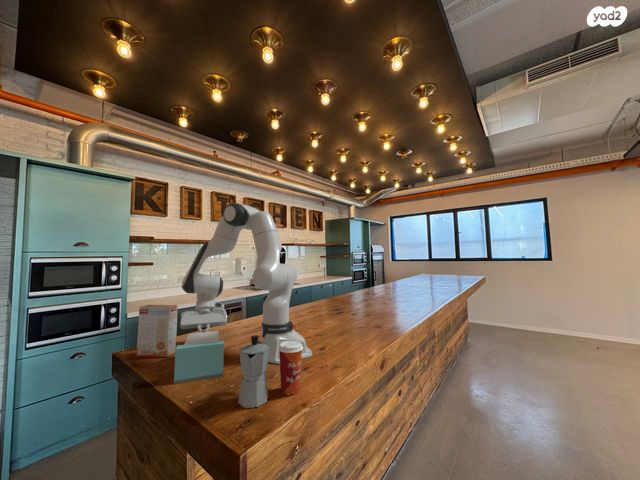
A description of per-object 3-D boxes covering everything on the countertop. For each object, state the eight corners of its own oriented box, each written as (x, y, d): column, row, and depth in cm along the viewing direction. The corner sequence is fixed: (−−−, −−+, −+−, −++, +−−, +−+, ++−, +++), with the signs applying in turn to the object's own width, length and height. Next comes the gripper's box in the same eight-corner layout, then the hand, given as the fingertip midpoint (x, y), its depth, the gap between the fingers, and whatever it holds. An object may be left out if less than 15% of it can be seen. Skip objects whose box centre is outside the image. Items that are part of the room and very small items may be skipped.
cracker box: (176, 352, 110) (178, 304, 111) (166, 358, 104) (169, 306, 106) (146, 351, 111) (149, 304, 113) (135, 356, 105) (138, 306, 107)
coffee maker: (265, 412, 66) (267, 342, 67) (231, 414, 65) (233, 343, 67) (272, 385, 80) (273, 327, 82) (244, 386, 80) (245, 328, 81)
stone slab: (218, 340, 111) (218, 330, 112) (218, 357, 91) (219, 345, 91) (188, 343, 107) (188, 333, 107) (181, 362, 86) (182, 350, 87)
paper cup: (292, 400, 72) (292, 349, 73) (272, 392, 76) (273, 345, 77) (308, 388, 78) (308, 342, 79) (288, 382, 82) (289, 338, 83)
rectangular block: (220, 342, 123) (221, 320, 124) (223, 375, 87) (224, 343, 88) (186, 346, 117) (187, 323, 118) (173, 383, 81) (175, 349, 82)
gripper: (181, 306, 117) (177, 333, 107) (227, 303, 125) (227, 328, 115) (181, 314, 121) (177, 341, 111) (226, 311, 129) (226, 335, 119)
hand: (203, 334), depth 113 cm, fingers closed
